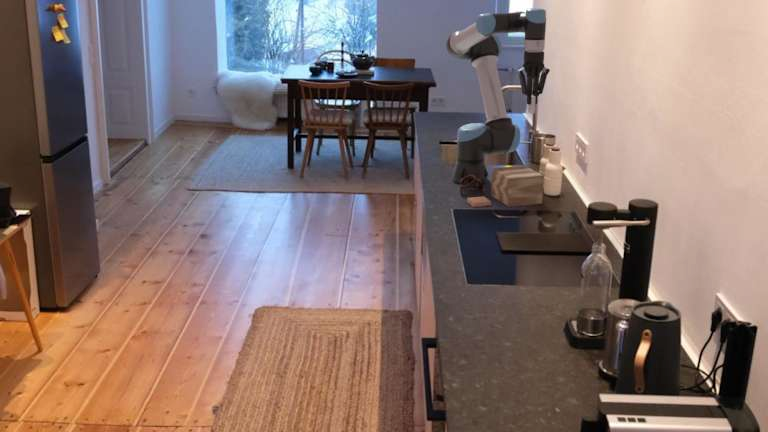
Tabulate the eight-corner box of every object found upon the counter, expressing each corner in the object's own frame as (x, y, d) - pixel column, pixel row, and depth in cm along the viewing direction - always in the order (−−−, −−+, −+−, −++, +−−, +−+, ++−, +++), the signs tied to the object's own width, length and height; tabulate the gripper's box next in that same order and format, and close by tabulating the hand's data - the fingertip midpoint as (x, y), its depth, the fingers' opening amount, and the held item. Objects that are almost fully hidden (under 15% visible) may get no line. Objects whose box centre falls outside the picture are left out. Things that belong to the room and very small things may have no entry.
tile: (483, 196, 332) (483, 201, 332) (466, 198, 330) (466, 202, 330) (490, 201, 325) (490, 206, 326) (473, 202, 323) (473, 208, 324)
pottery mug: (487, 197, 337) (478, 181, 333) (465, 206, 340) (456, 190, 336) (485, 181, 347) (476, 166, 343) (463, 190, 350) (455, 175, 346)
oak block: (491, 195, 338) (491, 168, 334) (523, 192, 342) (524, 165, 338) (508, 206, 323) (509, 178, 320) (542, 203, 327) (543, 175, 324)
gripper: (523, 52, 318) (520, 115, 325) (554, 51, 321) (551, 113, 329) (514, 50, 324) (511, 112, 332) (545, 48, 328) (542, 109, 335)
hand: (531, 112), depth 330 cm, fingers closed
